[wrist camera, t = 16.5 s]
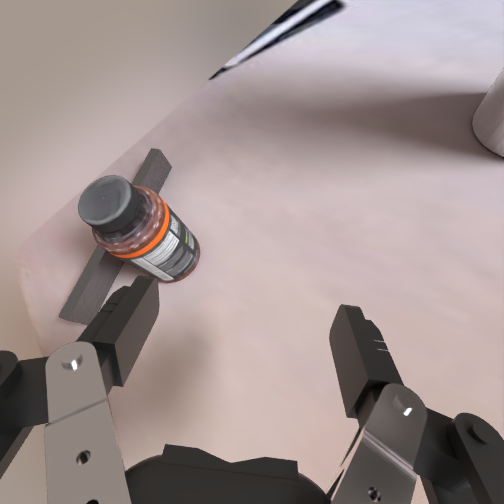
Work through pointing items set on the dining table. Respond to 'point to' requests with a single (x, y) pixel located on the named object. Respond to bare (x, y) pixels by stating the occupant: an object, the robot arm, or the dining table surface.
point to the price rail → (104, 263)
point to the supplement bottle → (139, 228)
